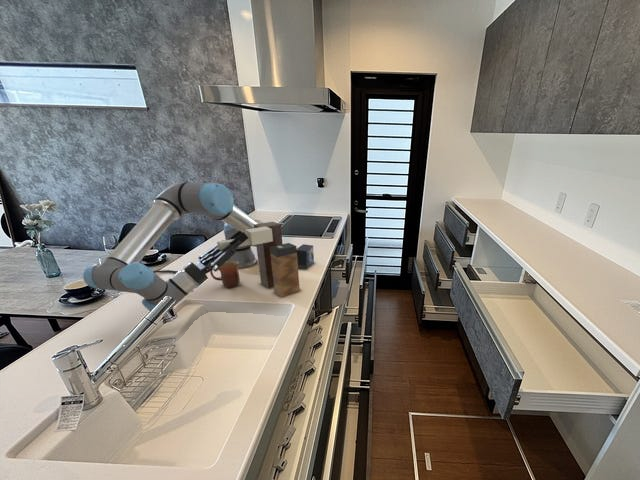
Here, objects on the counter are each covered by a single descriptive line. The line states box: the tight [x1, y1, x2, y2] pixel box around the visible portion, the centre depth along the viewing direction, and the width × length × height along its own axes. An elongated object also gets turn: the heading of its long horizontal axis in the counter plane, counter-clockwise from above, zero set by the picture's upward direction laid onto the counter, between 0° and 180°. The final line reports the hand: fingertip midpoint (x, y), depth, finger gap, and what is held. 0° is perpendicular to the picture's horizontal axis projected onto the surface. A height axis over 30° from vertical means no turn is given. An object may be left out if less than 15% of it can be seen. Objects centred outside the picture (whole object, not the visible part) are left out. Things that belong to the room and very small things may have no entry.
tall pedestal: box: [254, 221, 283, 289], centre depth 136 cm, size 9×7×28 cm
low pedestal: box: [270, 253, 301, 298], centre depth 131 cm, size 9×6×18 cm, turn 135°
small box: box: [296, 243, 315, 270], centre depth 161 cm, size 11×6×10 cm, turn 168°
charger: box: [216, 226, 273, 250], centre depth 113 cm, size 20×5×5 cm, turn 135°
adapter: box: [270, 242, 298, 257], centre depth 126 cm, size 9×6×3 cm, turn 135°
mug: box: [209, 261, 241, 289], centre depth 136 cm, size 12×9×10 cm
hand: (243, 234), depth 112 cm, fingers closed on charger, 3 cm apart
